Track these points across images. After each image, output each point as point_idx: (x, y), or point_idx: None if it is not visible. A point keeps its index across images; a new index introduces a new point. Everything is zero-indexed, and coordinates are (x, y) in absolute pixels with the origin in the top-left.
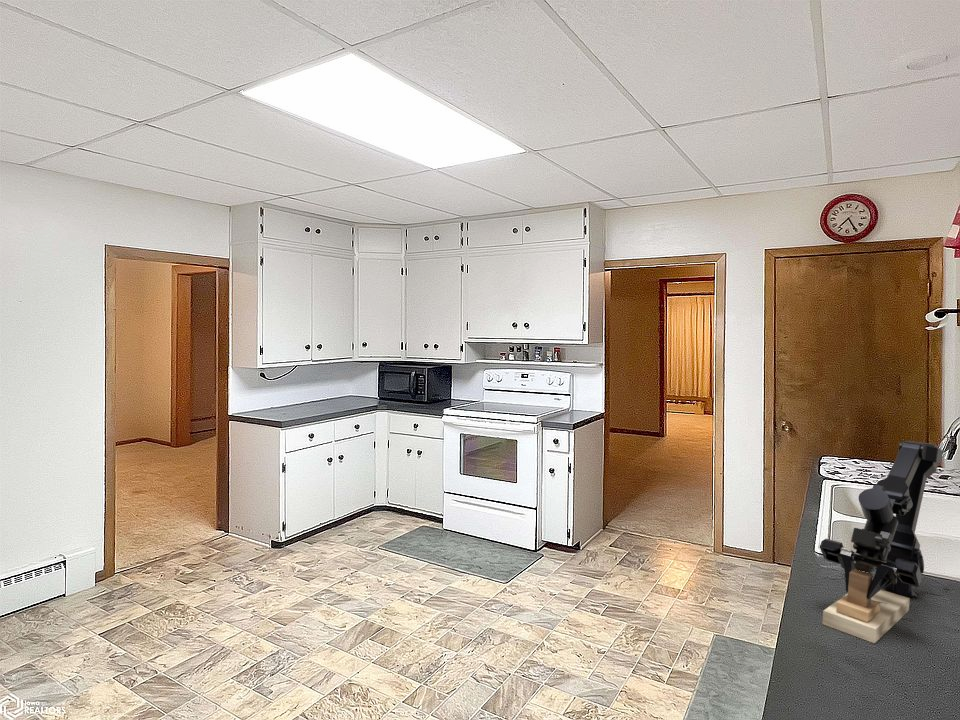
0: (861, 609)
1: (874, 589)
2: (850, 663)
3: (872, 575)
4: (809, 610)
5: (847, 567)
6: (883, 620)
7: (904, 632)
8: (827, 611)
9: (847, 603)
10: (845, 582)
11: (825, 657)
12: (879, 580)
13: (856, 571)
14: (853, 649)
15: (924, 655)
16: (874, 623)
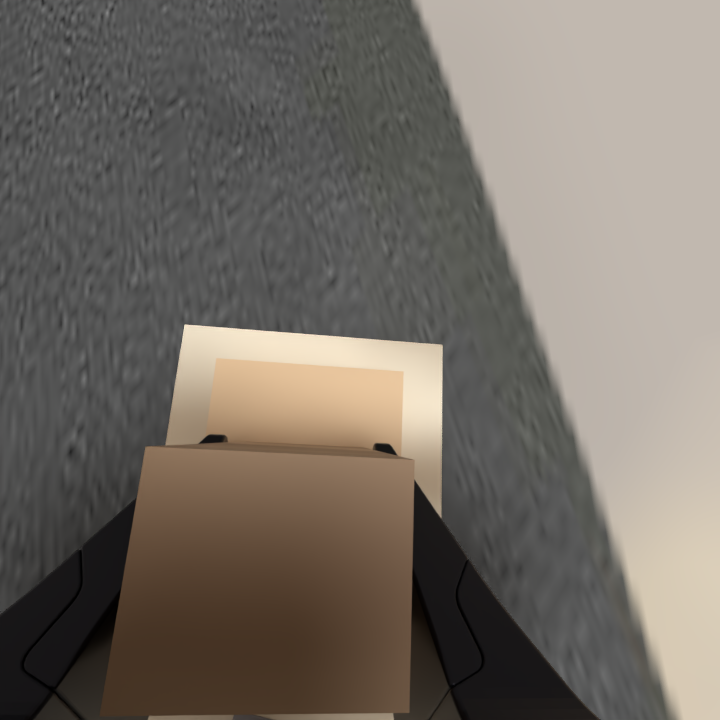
0: (260, 381)
1: None
2: (249, 113)
3: (110, 689)
4: (513, 467)
5: (504, 671)
6: None
7: None
8: (424, 352)
9: (352, 411)
10: (419, 489)
11: (324, 97)
12: (12, 607)
13: (350, 611)
14: (265, 225)
15: (7, 399)
16: (201, 398)
